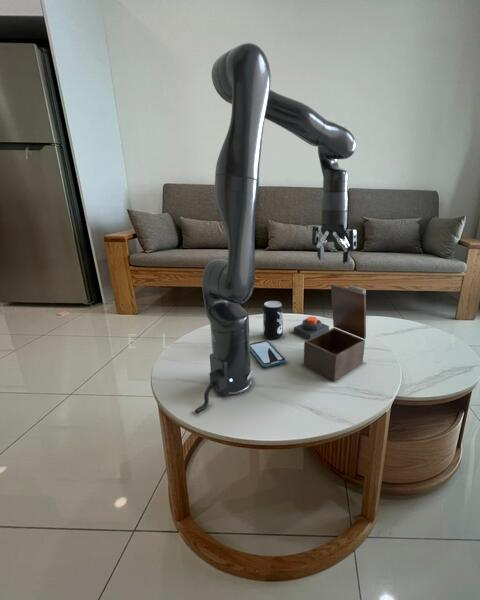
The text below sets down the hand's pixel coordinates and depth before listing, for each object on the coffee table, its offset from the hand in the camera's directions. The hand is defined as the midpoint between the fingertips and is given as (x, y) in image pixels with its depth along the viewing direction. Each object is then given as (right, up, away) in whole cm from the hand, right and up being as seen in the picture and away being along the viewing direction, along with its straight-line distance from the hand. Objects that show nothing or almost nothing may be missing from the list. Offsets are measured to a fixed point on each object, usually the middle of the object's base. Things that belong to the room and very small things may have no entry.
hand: (333, 261), depth 100 cm
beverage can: (-20, -25, +11) cm, 34 cm away
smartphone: (-21, -29, -1) cm, 36 cm away
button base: (-6, -24, +15) cm, 29 cm away
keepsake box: (0, -31, -5) cm, 32 cm away
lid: (+4, -16, -7) cm, 17 cm away
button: (-6, -20, +14) cm, 25 cm away
